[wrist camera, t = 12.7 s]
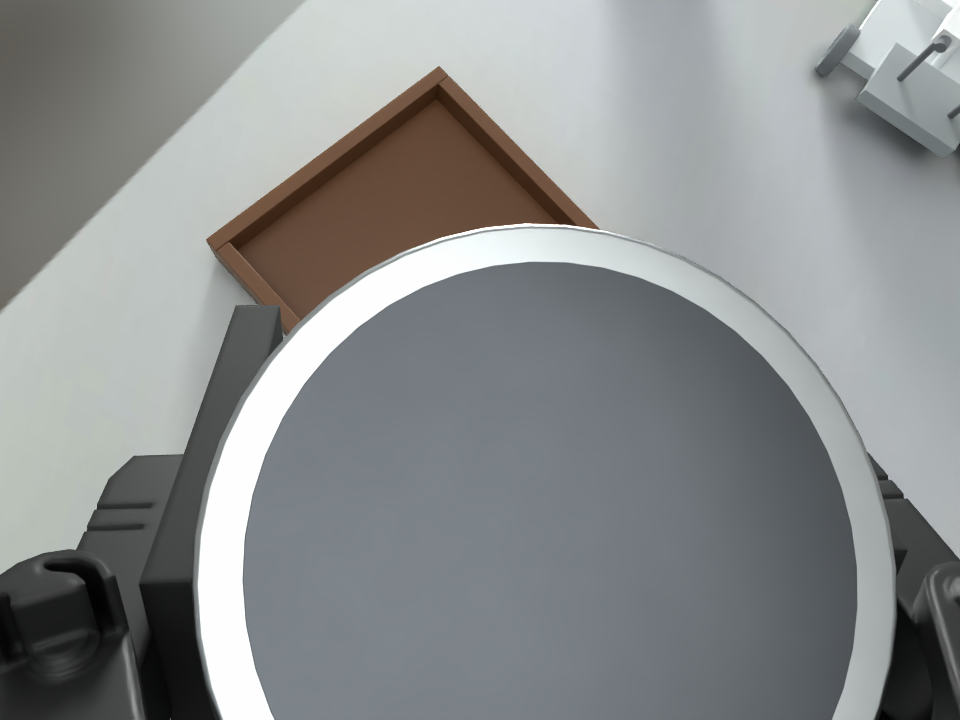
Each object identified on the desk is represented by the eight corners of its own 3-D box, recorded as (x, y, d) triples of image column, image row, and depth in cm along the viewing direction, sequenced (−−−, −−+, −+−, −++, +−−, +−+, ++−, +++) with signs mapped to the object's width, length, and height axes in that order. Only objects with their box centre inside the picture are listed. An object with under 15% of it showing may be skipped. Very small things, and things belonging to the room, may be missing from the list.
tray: (215, 256, 42) (205, 239, 39) (436, 89, 45) (439, 65, 43) (415, 479, 40) (416, 474, 38) (628, 285, 44) (641, 270, 41)
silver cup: (224, 548, 16) (28, 527, 8) (484, 327, 18) (569, 101, 9) (461, 831, 15) (550, 1180, 7) (709, 570, 17) (1037, 575, 8)
